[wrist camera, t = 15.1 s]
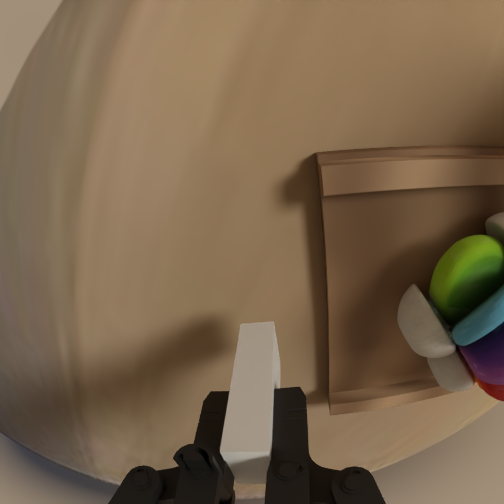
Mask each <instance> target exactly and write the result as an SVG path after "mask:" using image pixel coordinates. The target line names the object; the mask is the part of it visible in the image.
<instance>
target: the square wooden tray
mask: <svg viewBox="0 0 504 504" xmlns="http://www.w3.org/2000/svg"><path fill="white" fill-rule="evenodd" d="M316 162H317V171H318V181H319V191H320V202H321V213H322V225H323V239H324V254H325V271H326V291H327V319H328V402H329V409H330V415H339V414H347V413H354V412H361V411H368V410H374V409H380V408H386V407H392V406H397V405H402V404H407V403H412V402H416V401H421V400H425V399H430V398H434V397H438V396H442V395H446V394H449V393H453V392H454V391H449V390H445V389H443V388H442V387H441V386H440V385H439V384H438V382H437V380H436V378H435V377H434V375H433V373H432V371H431V369H430V367H429V364H428V361H427V357H424V356H421V355H419V354H417V353H416V352H414V351H413V349H412V348H411V347H410V345H409V343H408V342H407V340H406V339H405V337H404V335H403V334H402V332H401V329H400V327H399V325H398V320H397V316H398V308H399V304H400V301H401V299H402V297H403V295H404V294H405V292H406V291H407V289H408V288H409V287H410V286H411V285H412V284H416V285H417V287H418V288H419V290H420V291H421V293H422V294H423V295H424V297H425V298H426V300H428V301H429V300H430V295H429V289H430V284H431V279H432V275H433V272H434V270H435V267H436V265H437V263H438V262H439V260H440V259H441V257H442V256H443V255H444V253H445V252H446V251H447V250H448V249H449V248H450V247H451V246H452V245H453V244H454V243H455V242H457V241H459V240H461V239H463V238H465V237H468V236H473V235H487V233H486V228H485V223H486V220H487V219H488V218H489V217H491V216H493V215H495V214H498V213H502V212H504V148H500V147H473V146H417V147H387V148H368V149H353V150H339V151H328V152H317V153H316ZM477 385H478V383H477V382H475V383H474V386H477ZM474 386H473V387H474Z"/></svg>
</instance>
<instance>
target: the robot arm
mask: <svg viewBox="0 0 504 504" xmlns="http://www.w3.org/2000/svg"><path fill="white" fill-rule="evenodd" d="M173 459H174V460H175V461H176V463H177V464H178V465H179V466H178V467H175V468H170V469H165V470H158V471H156V470H155V469H153V468H152V467H149V466H137V467H135V468H133V469H132V470H131V471H130V472H129V473H128V474H127V475H126V477H125V478H124V480H123V482H122V483H121V485H120V486H119V488H118V490H117V491H116V493H115V494H114V496H113V497H112V499H111V500H110V502H109V503H108V504H235V491H234V490H233V485H234V479H235V481H236V483H251V484H261V483H266V492H265V504H386V503H385V501H384V499H383V497H382V495H381V493H380V490H379V489H378V486H377V484H376V482H375V480H374V478H373V476H372V475H371V473H370V472H369V471H368V470H366V469H364V468H362V467H355V466H353V467H348V468H345V469H343V470H341V471H339V470H333V469H328V468H324V467H321V466H319V465H317V464H316V463H315V462H314V461H313V460H312V459H311V457H310V455H309V446H308V424H307V407H306V396H305V394H304V393H303V391H302V389H301V388H300V387H291V388H280V359H279V352H278V345H277V339H276V332H275V325H274V321H272V322H260V323H247V324H241V325H240V332H239V338H238V344H237V350H236V356H235V362H234V368H233V374H232V380H231V386H230V391H211V392H210V393H209V395H208V396H207V397H206V399H205V400H204V401H203V406H202V410H201V414H200V419H199V423H198V427H197V431H196V436H195V440H194V444H188V445H186V446H183V447H181V448H180V449H179V450H178V451H177V452H176V453H175V455H174V457H173Z"/></svg>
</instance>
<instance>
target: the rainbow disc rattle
mask: <svg viewBox="0 0 504 504" xmlns="http://www.w3.org/2000/svg"><path fill="white" fill-rule="evenodd" d="M485 228H486V233H487V235H473V236H468V237H465V238H463V239H461V240H459V241H457V242H455V243H454V244H453V245H452V246H451V247H450V248H449V249H448V250H447V251H446V252H445V253H444V255H443V256H442V257H441V259H440V260H439V262H438V263H437V265H436V267H435V270H434V272H433V275H432V279H431V284H430V289H429V295H430V300H429V301H428V300H426V298H425V297H424V295H423V294H422V293H421V291H420V290H419V288H418V287H417V285H416V284H412V285H411V286H410V287H409V288H408V289H407V291H406V292H405V294H404V295H403V297H402V299H401V301H400V304H399V308H398V316H397V320H398V325H399V327H400V329H401V332H402V334H403V335H404V337H405V339H406V340H407V342H408V343H409V345H410V347H411V348H412V349H413V351H414V352H416V353H417V354H419V355H421V356H424V357H427V361H428V364H429V367H430V369H431V371H432V373H433V375H434V377H435V378H436V380H437V382H438V384H439V385H440V386H441V387H442V388H443V389H445V390H449V391H454V392H459V391H464V390H467V389H470V388H472V387H473V386H474V383H475V382H477V383H478V385H479V387H480V388H481V389H483V390H484V391H485V392H486V393H487V394H489V395H490V396H492V397H493V398H495V399H497V400H500V401H504V212H502V213H498V214H495V215H493V216H491V217H489V218H488V219H487V220H486V223H485Z"/></svg>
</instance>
